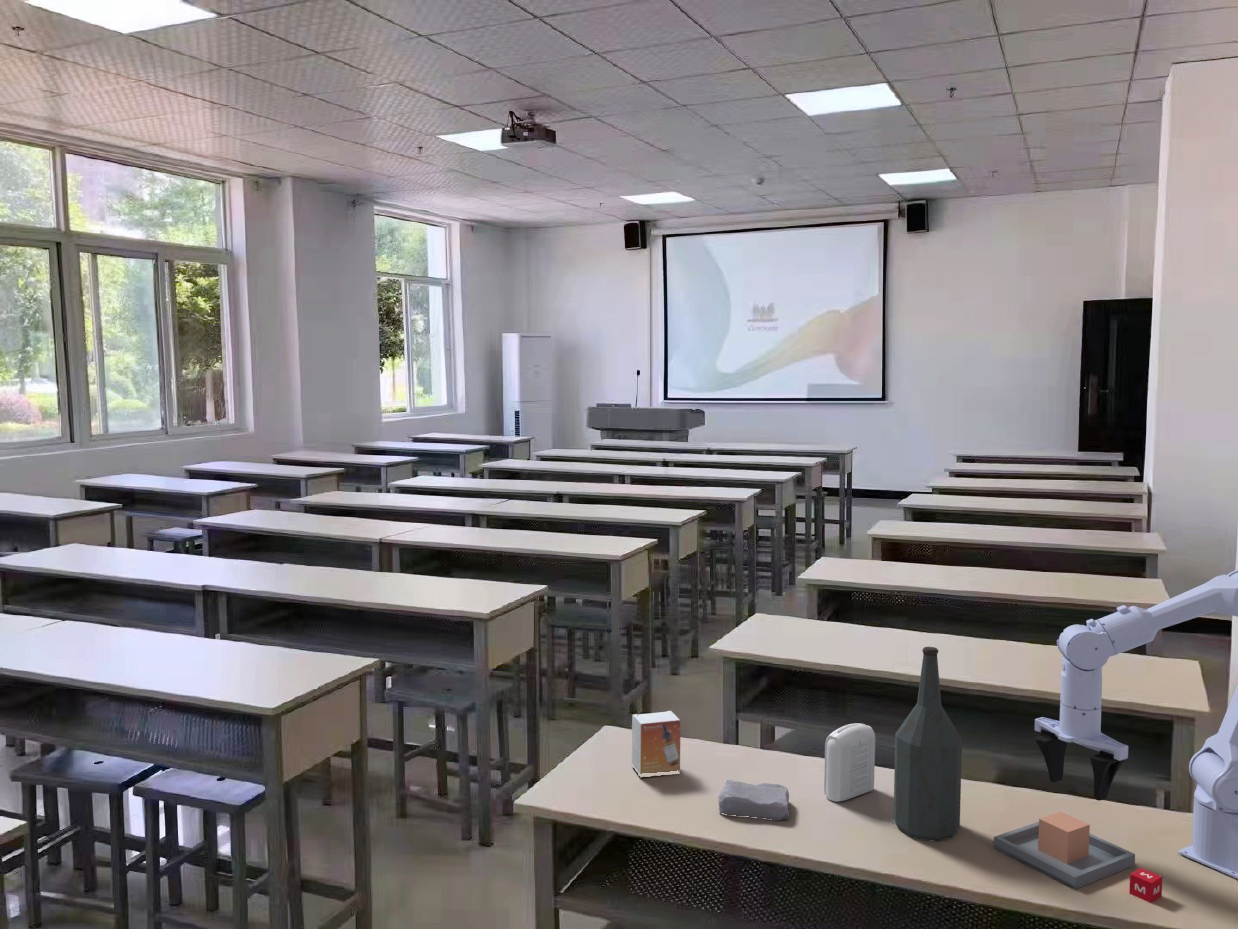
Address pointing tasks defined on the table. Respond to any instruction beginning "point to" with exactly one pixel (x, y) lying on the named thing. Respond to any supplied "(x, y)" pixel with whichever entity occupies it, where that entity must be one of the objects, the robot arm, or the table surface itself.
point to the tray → (1073, 875)
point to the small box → (656, 742)
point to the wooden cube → (1063, 837)
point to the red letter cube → (1145, 885)
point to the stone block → (754, 800)
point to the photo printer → (849, 762)
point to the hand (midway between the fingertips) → (1078, 789)
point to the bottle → (928, 763)
